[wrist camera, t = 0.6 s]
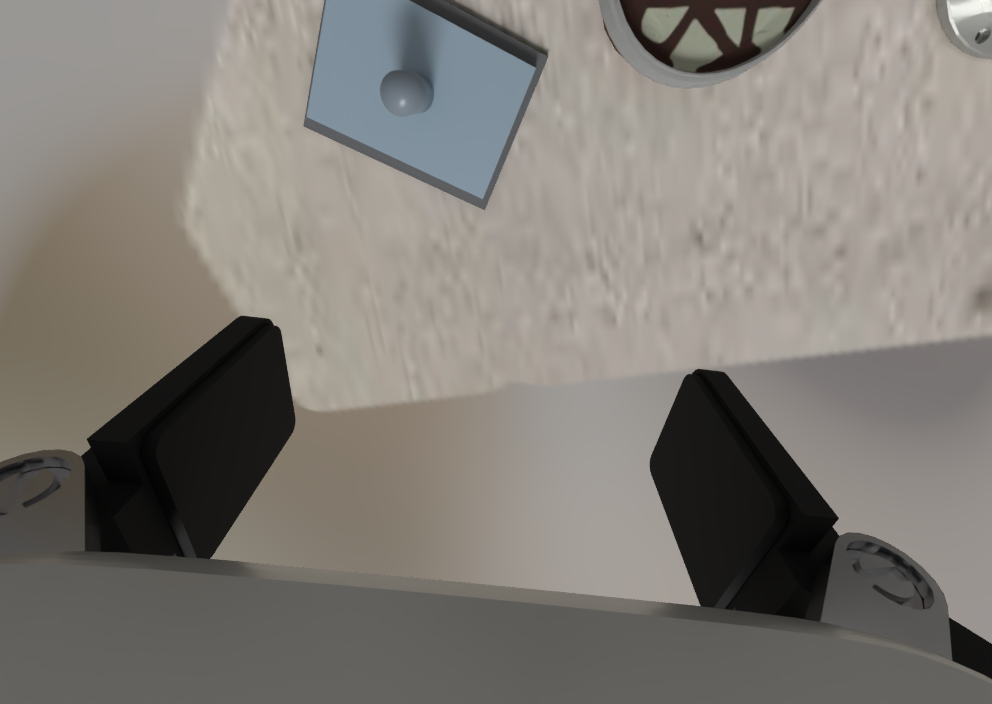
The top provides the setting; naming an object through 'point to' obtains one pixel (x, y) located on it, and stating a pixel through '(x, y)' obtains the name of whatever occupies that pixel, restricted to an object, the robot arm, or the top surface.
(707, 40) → the food container
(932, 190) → the top surface
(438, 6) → the mat
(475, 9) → the top surface
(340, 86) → the lid
